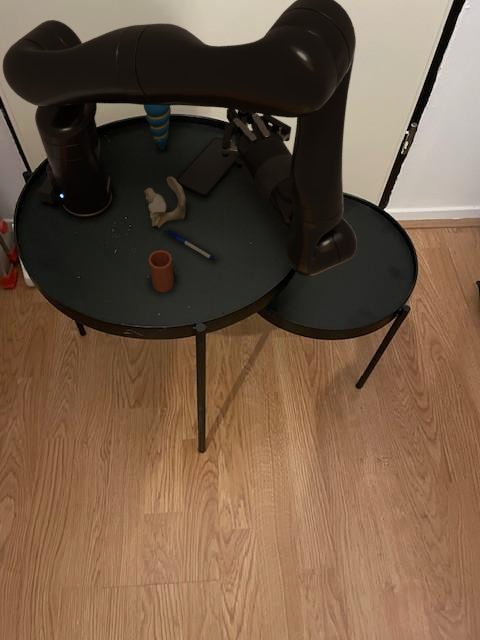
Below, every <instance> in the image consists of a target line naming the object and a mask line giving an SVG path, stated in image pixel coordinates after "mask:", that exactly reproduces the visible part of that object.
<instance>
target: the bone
mask: <svg viewBox="0 0 480 640" xmlns="http://www.w3.org/2000/svg"><path fill="white" fill-rule="evenodd" d="M165 180H166V182H167V185H168V186H169V188H170V189H171V190H172V191H173V192H174V194H175V195H176V198H177V205H176V207H175V209H173V210H172V211H168V212H167V202H166V200H165V199H164V197H163V196H162V195H161V194H160V193H156V192H155V190H154V189H153V188H152V187H147V188H146V189H145V190H144V191H143V193H144V194H145V200H146V201H147V203H148V211H149V218H150V220H151V226H152V228H154V227H157V228H160V227H161V226H162V225H164V224H165V223H166V222H169V221H177V220H184V219H185V216H186V211H187V210H186V209H187V207H186V199H187V198H186V193H185V192H184V187H182V186H181V185H180V184H179V183H178V182H177V179H176V178H174V177H173V176H167V177H166V179H165Z"/></svg>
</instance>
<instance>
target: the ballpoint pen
mask: <svg viewBox="0 0 480 640" xmlns="http://www.w3.org/2000/svg"><path fill="white" fill-rule="evenodd" d="M167 235H169V236H170V237H172V238H174V239H175V240H177V241H178V242H180V243H182V244H183V245H185V246H187V247H188V248H191V249H192V250H193V251H195V252H197V253H199V254H201V255H202V256H204V257H206V259H209V260H212V261H215V258H214V257H213V256H212V255H210V254H209V253H207V252H206V251H204V250H203V249H200V248H199V247H197V246H196V245H194V244H193V243H191V242H189V241H188V240H186V239H185V238H183V237H182V236H180V235H178V234H176V233H175V232H174V231H172V230H167Z"/></svg>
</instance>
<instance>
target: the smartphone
mask: <svg viewBox="0 0 480 640" xmlns="http://www.w3.org/2000/svg"><path fill="white" fill-rule="evenodd" d="M222 142H223V138H220V137H215V138H213V139H212V140H211V141H210V142H209V143H208V144H207V145H206V146H205V147H204V148H203V150H202V151H201V152H200V153H199V154H198V155H197V157H196V158H194V160H193V161H192V162H191V163H190V164H189V165H188V166H187V168H185V170H184V171H183V172H182V173H181V174H180V175H179V176H178V177H177V179H176V181H177V182H178V183H179V184H180V185H181V187H182V188H183V189H186V190H188V191H190V192H192V193H194V194H195V195H198V196H200V197H202V198H206V197H208V196H210V194H212V192H213V190H214V189H215V188H216V187H217V186H218V185H219V184H220V183H221V181H223V179H224V178H225V176H226V175H227V174H228V173H229V172H230V171H231V169H232V168H234V166H235V165H236V164H237V163H236V162H235V154H229V156H228V157H223V156H222Z"/></svg>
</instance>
